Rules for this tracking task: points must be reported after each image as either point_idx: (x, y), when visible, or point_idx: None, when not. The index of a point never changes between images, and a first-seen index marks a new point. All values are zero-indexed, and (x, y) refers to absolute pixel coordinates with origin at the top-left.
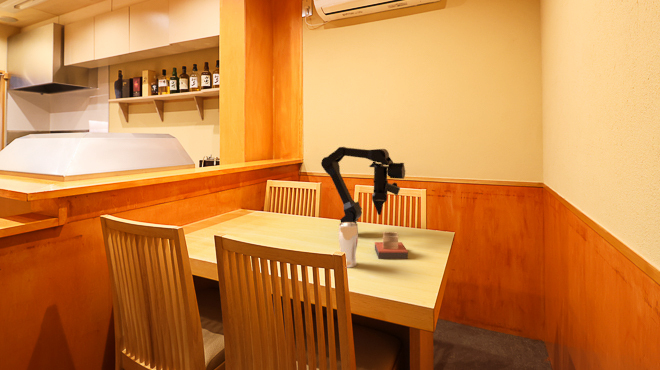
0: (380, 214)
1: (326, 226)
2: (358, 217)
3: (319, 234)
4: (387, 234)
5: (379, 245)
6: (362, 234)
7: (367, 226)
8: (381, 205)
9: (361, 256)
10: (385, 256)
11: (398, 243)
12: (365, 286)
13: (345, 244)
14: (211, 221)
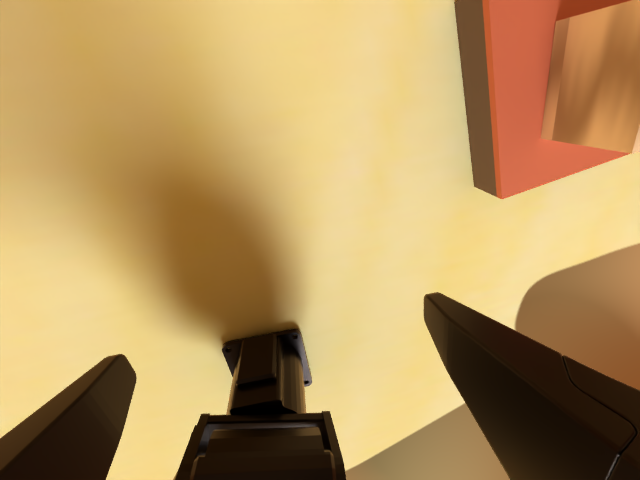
0: (440, 295)
1: (173, 477)
2: (263, 434)
3: None
4: (636, 106)
5: (568, 155)
6: (221, 314)
7: (21, 338)
8: (634, 417)
9: (584, 222)
10: None
11: (523, 11)
12: None
13: None
14: None
